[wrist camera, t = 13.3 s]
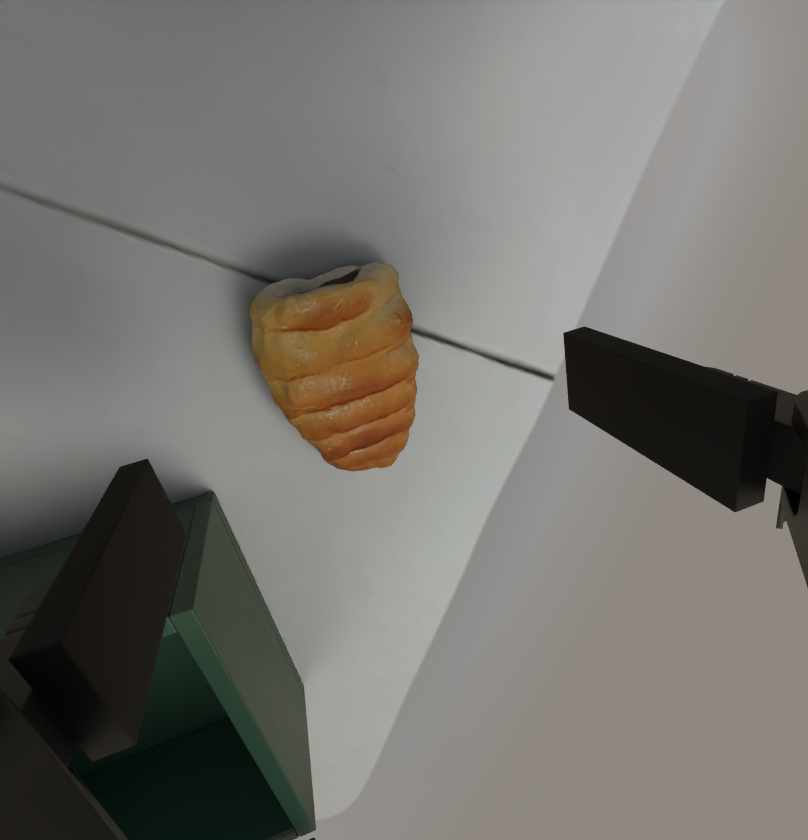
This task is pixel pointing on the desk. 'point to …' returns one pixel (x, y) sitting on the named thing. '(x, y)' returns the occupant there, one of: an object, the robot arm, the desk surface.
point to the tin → (201, 702)
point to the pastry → (340, 361)
